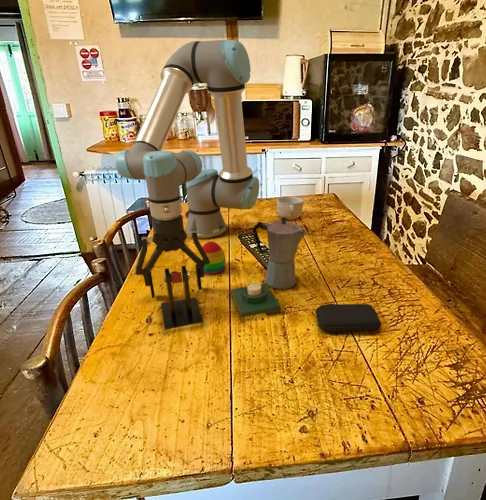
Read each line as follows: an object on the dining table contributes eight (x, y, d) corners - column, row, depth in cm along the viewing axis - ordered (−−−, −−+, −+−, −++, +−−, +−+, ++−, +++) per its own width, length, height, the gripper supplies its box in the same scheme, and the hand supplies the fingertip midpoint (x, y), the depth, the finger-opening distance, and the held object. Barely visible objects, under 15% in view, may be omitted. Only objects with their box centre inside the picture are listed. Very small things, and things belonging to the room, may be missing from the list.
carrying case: (371, 308, 101) (314, 310, 101) (372, 298, 100) (314, 299, 100) (382, 334, 92) (319, 335, 92) (384, 323, 90) (319, 324, 90)
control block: (231, 296, 108) (230, 283, 106) (266, 290, 111) (265, 277, 109) (242, 320, 98) (241, 306, 96) (280, 312, 100) (280, 299, 99)
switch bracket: (161, 306, 104) (154, 263, 98) (195, 300, 106) (191, 257, 101) (165, 333, 93) (158, 286, 88) (203, 325, 96) (198, 279, 90)
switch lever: (169, 283, 106) (167, 272, 106) (181, 281, 107) (179, 270, 107) (171, 285, 93) (169, 272, 93) (184, 283, 94) (182, 270, 94)
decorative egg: (231, 272, 121) (229, 242, 116) (208, 281, 116) (205, 250, 112) (217, 263, 126) (215, 234, 122) (194, 271, 122) (191, 241, 118)
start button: (246, 290, 104) (245, 284, 103) (259, 288, 105) (258, 282, 104) (249, 297, 101) (249, 291, 100) (263, 294, 102) (263, 288, 101)
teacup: (278, 212, 170) (278, 194, 167) (303, 213, 169) (304, 195, 166) (274, 224, 158) (274, 205, 154) (301, 225, 156) (302, 205, 153)
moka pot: (303, 293, 109) (305, 225, 101) (249, 288, 112) (246, 221, 104) (307, 276, 118) (309, 213, 109) (257, 272, 120) (255, 210, 112)
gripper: (115, 227, 91) (130, 306, 100) (217, 214, 98) (223, 290, 107) (116, 216, 98) (130, 292, 107) (211, 205, 105) (217, 277, 114)
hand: (176, 291), depth 107 cm, fingers open, 12 cm apart
